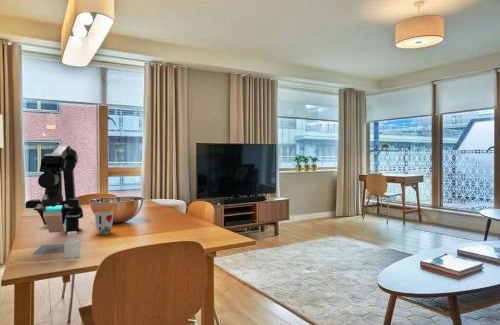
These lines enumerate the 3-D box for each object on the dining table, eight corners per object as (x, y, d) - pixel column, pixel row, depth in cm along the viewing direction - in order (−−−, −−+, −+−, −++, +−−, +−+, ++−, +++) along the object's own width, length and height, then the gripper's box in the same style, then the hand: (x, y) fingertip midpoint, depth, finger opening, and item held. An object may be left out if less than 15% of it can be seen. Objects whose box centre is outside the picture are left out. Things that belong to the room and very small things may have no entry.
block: (50, 228, 146) (43, 211, 137) (66, 227, 147) (61, 210, 139) (49, 233, 144) (42, 216, 136) (65, 232, 146) (60, 215, 138)
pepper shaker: (63, 258, 128) (63, 232, 128) (72, 255, 132) (72, 230, 132) (72, 260, 127) (71, 233, 127) (81, 257, 131) (80, 231, 130)
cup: (95, 236, 163) (95, 214, 163) (94, 232, 170) (94, 212, 170) (114, 234, 167) (114, 213, 166) (112, 230, 174) (112, 210, 174)
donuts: (57, 204, 192) (71, 205, 189) (57, 223, 192) (72, 224, 189) (41, 207, 182) (56, 208, 179) (41, 226, 183) (56, 228, 180)
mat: (42, 246, 145) (42, 245, 145) (74, 244, 149) (74, 243, 149) (31, 255, 132) (31, 254, 132) (66, 253, 135) (66, 252, 135)
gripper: (20, 188, 130) (20, 230, 130) (75, 187, 135) (75, 227, 136) (29, 185, 141) (30, 224, 141) (80, 184, 146) (81, 222, 146)
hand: (54, 224), depth 141 cm, fingers closed on block, 6 cm apart
